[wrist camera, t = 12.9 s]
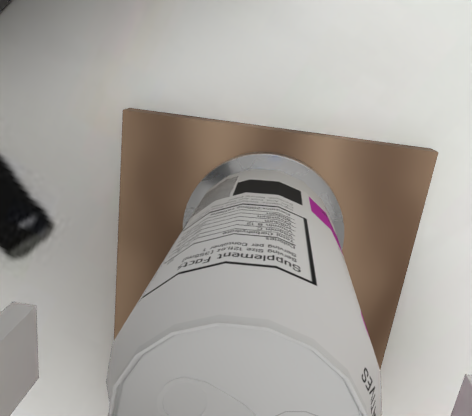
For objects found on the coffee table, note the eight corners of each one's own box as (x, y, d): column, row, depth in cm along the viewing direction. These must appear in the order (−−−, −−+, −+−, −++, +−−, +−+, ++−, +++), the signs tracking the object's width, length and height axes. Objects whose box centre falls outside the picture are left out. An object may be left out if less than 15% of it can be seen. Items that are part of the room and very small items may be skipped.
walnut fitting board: (116, 421, 34) (110, 433, 33) (129, 107, 27) (123, 109, 26) (348, 463, 33) (351, 477, 32) (431, 148, 26) (438, 152, 24)
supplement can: (361, 217, 25) (465, 416, 11) (278, 320, 28) (273, 590, 13) (242, 137, 24) (185, 236, 10) (168, 250, 27) (38, 456, 13)
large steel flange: (180, 285, 29) (176, 293, 28) (193, 141, 26) (189, 143, 25) (326, 308, 28) (327, 317, 27) (356, 163, 25) (359, 167, 24)
